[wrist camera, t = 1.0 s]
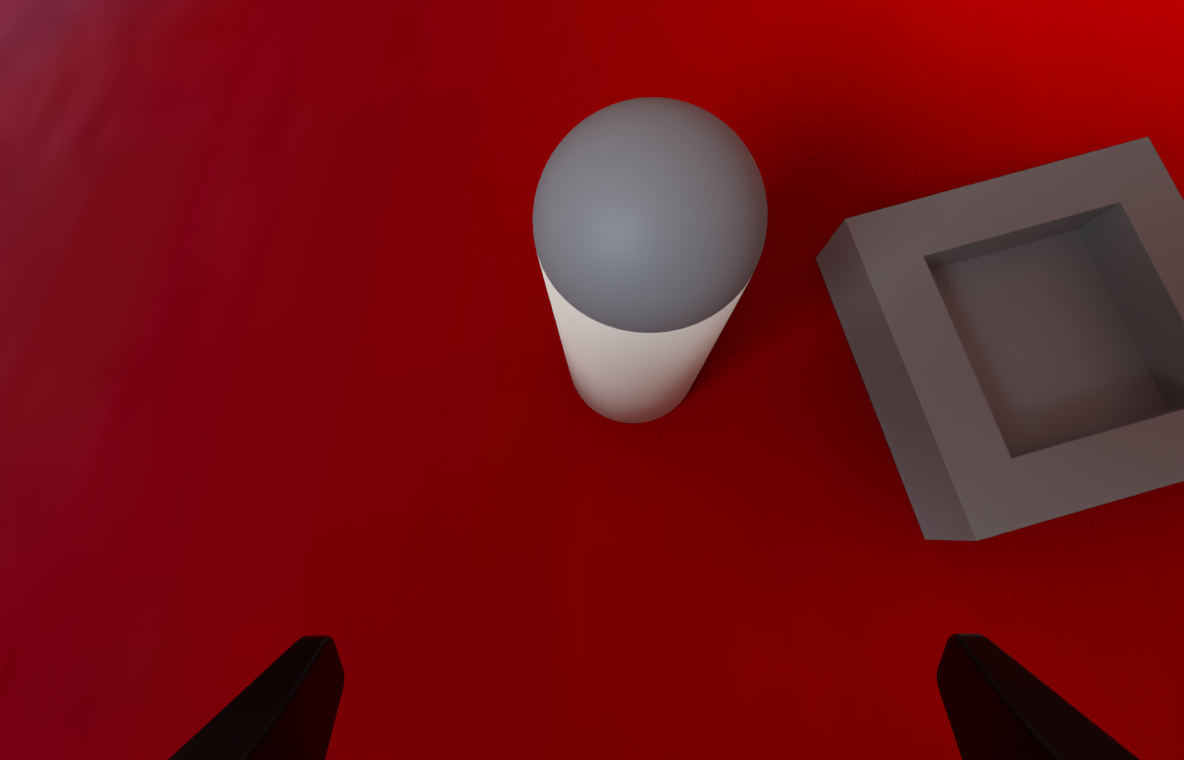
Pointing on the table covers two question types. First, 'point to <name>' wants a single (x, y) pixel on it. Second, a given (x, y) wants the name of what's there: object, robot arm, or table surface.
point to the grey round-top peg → (646, 248)
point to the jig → (1023, 338)
